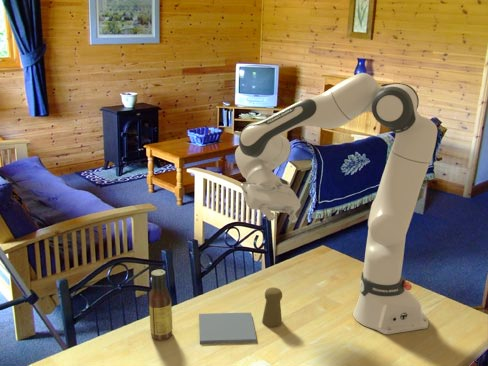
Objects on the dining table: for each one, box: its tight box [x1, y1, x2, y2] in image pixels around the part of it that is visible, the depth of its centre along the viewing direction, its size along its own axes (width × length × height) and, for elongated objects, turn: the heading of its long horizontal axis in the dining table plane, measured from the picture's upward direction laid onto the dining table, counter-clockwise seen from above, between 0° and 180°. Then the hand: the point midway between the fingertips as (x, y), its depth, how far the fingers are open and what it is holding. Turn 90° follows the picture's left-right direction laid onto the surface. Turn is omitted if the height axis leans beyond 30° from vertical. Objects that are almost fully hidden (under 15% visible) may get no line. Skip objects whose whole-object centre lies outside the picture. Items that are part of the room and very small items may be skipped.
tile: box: [198, 312, 257, 345], centre depth 157 cm, size 16×14×1 cm
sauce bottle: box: [148, 269, 173, 341], centre depth 150 cm, size 6×6×20 cm
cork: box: [261, 286, 283, 329], centre depth 160 cm, size 6×6×11 cm
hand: (283, 220), depth 156 cm, fingers open, 8 cm apart
